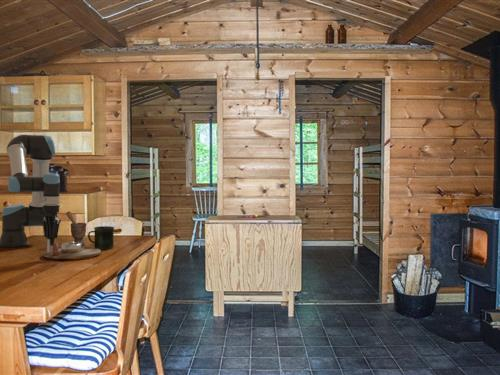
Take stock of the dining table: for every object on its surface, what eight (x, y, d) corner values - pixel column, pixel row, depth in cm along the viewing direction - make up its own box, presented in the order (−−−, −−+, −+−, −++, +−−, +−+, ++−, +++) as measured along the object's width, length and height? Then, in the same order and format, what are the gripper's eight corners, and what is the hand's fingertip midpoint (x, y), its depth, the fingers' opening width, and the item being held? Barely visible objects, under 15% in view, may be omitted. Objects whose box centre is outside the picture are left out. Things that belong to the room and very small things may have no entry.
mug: (111, 249, 251) (112, 228, 251) (85, 249, 250) (85, 228, 250) (116, 246, 262) (116, 226, 262) (90, 246, 261) (90, 226, 260)
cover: (56, 252, 231) (56, 242, 231) (70, 249, 240) (70, 239, 240) (72, 253, 227) (72, 244, 227) (85, 250, 237) (85, 241, 237)
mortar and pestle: (63, 246, 259) (63, 212, 258) (66, 244, 267) (66, 210, 266) (84, 246, 261) (84, 212, 260) (87, 243, 269) (87, 210, 269)
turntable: (30, 256, 225) (30, 242, 225) (70, 247, 252) (70, 234, 251) (75, 261, 216) (75, 246, 215) (111, 251, 242) (111, 238, 242)
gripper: (36, 204, 223) (36, 251, 224) (51, 206, 216) (51, 254, 217) (50, 203, 229) (49, 249, 230) (65, 205, 222) (65, 252, 223)
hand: (50, 251), depth 224 cm, fingers closed
